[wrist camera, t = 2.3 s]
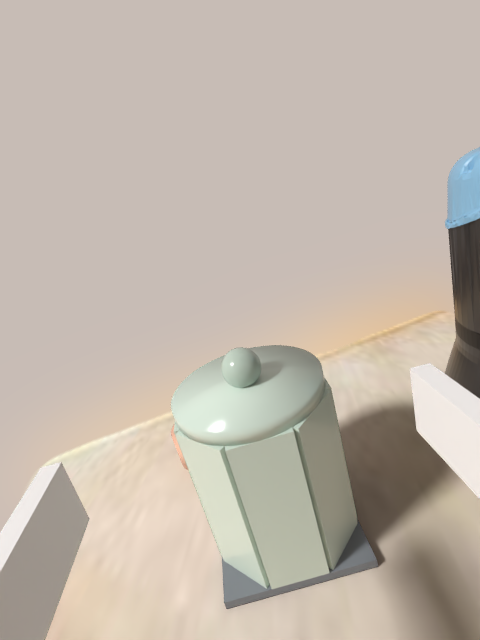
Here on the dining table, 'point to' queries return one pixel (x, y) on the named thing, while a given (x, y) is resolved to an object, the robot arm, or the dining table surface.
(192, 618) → the dining table surface
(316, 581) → the mat
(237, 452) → the lidded canister jar
